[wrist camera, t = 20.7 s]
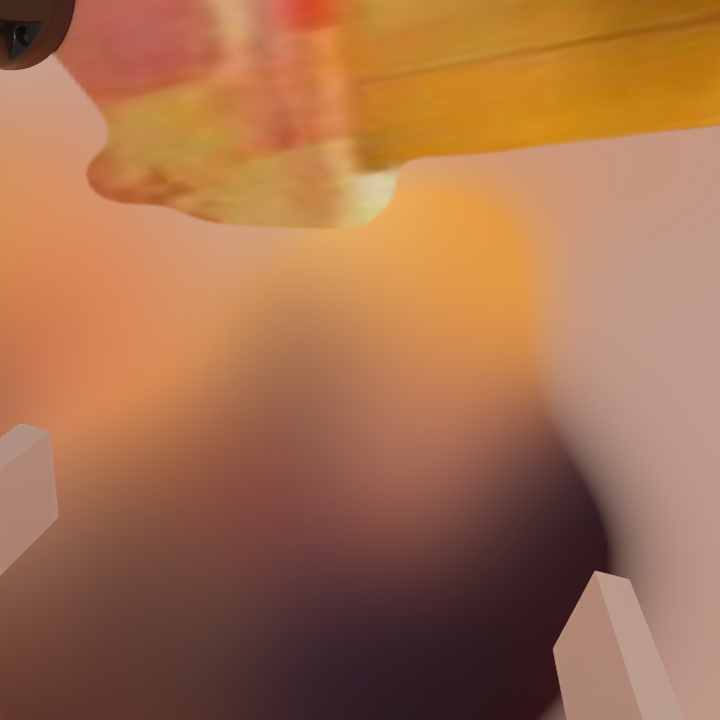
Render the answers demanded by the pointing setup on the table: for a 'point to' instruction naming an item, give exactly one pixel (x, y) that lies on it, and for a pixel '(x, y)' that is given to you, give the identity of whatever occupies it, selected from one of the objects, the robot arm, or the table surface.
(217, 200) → the table surface
